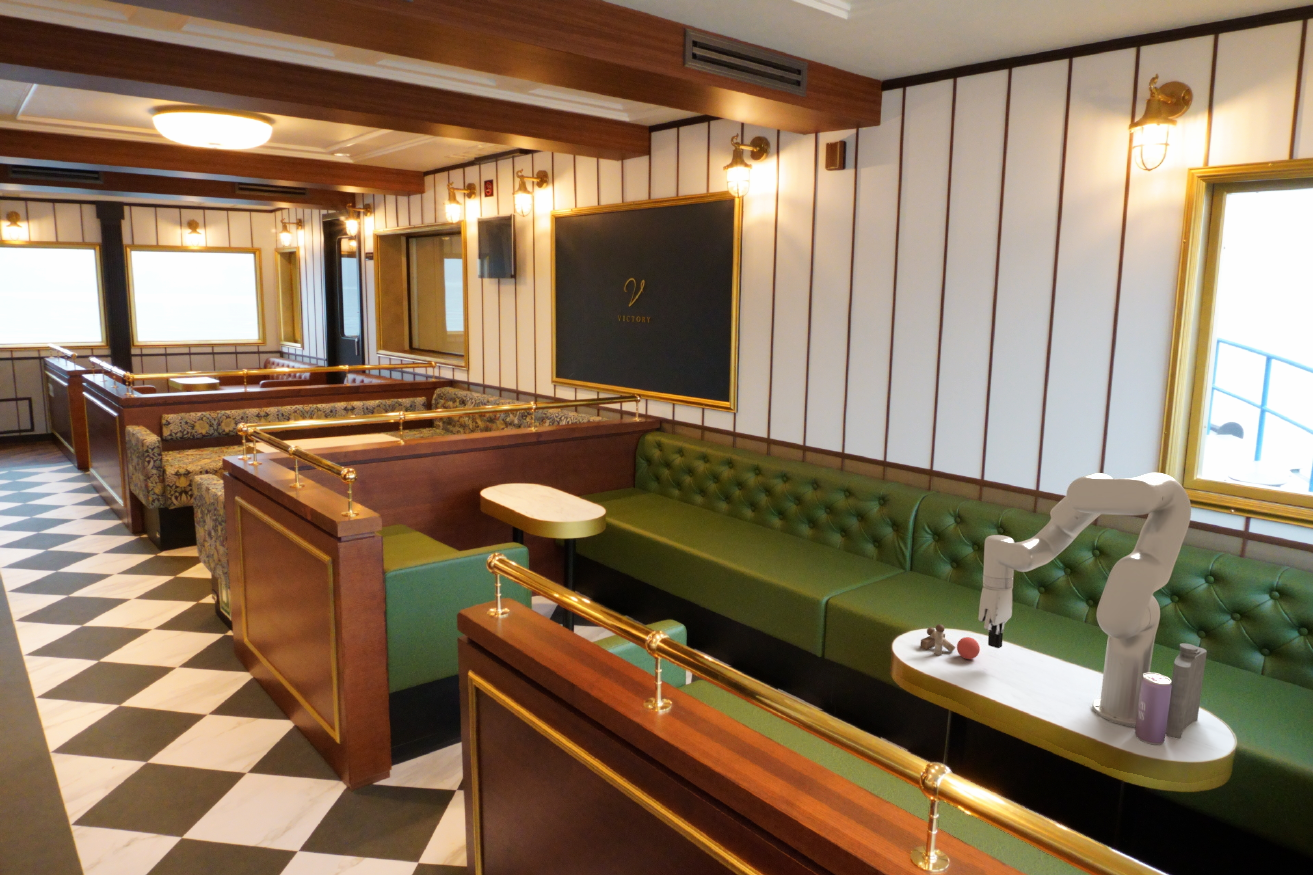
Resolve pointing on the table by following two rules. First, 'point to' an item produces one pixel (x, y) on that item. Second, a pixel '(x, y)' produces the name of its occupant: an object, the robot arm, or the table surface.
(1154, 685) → the beverage can
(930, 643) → the stopper wall
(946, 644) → the pin
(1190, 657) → the hip flask
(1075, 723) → the table surface
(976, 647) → the ball
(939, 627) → the pin
